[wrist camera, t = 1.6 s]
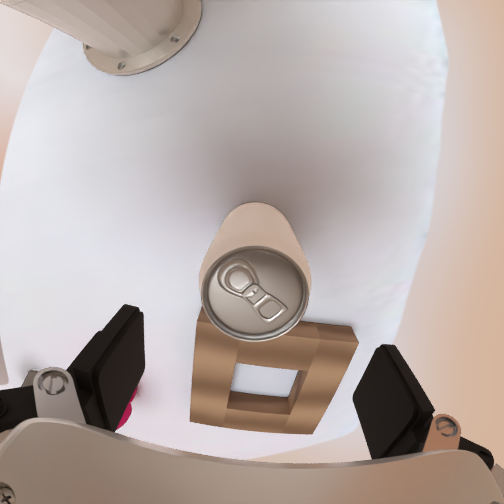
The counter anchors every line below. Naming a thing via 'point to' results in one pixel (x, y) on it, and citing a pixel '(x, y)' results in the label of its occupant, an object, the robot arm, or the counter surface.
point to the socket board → (277, 356)
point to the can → (255, 275)
